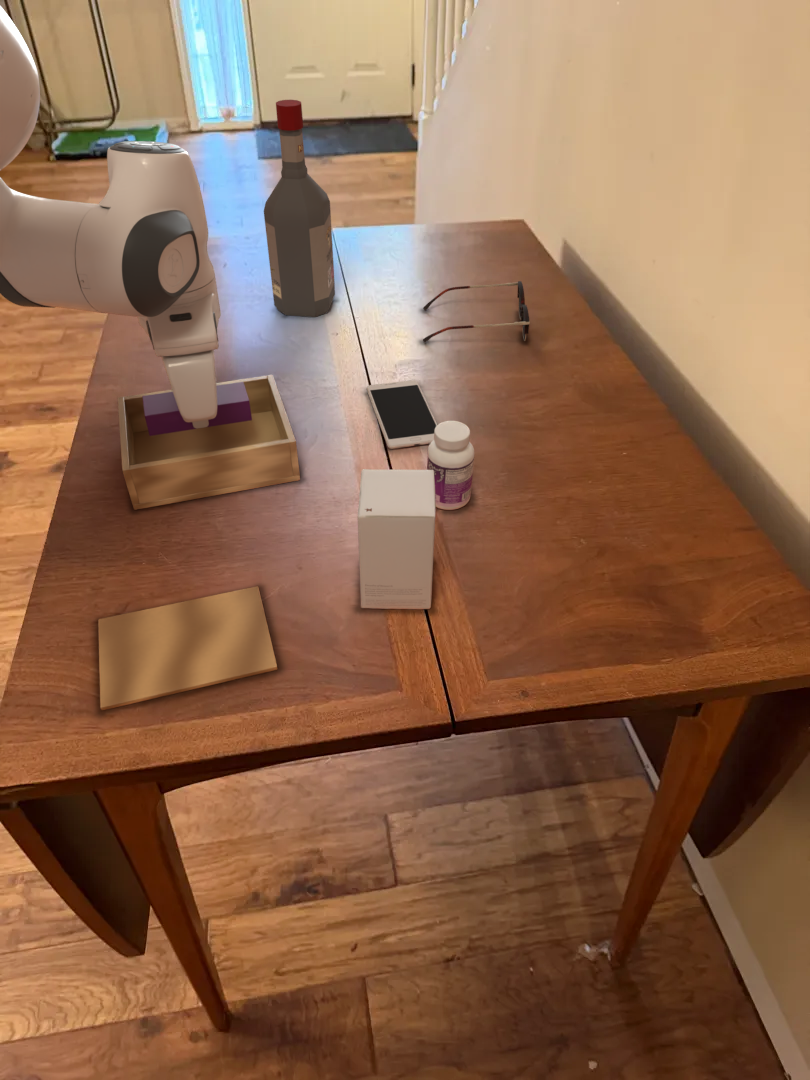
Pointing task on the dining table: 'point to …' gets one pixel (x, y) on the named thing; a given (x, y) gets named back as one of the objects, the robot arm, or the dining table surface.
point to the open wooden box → (208, 451)
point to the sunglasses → (522, 314)
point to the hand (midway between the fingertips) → (198, 411)
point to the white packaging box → (396, 538)
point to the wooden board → (183, 647)
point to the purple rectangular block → (168, 419)
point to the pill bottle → (451, 464)
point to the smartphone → (402, 413)
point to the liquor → (298, 227)
